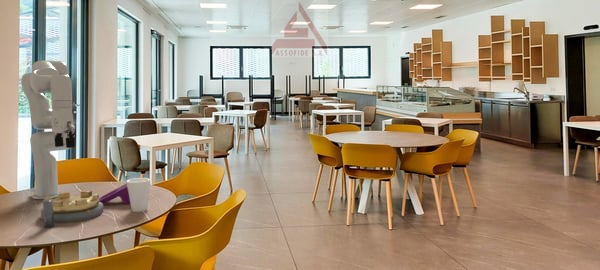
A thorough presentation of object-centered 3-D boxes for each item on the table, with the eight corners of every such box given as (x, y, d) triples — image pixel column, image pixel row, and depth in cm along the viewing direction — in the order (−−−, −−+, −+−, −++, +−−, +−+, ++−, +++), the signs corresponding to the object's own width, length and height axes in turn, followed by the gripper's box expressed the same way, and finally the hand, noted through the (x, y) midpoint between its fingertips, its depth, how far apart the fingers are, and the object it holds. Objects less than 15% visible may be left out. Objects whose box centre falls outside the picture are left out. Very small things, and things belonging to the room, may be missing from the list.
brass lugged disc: (77, 214, 173) (76, 203, 172) (33, 212, 177) (32, 201, 176) (109, 201, 192) (108, 191, 192) (68, 199, 196) (67, 189, 196)
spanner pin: (42, 227, 167) (40, 201, 166) (49, 225, 170) (47, 199, 169) (49, 228, 166) (47, 202, 165) (56, 225, 169) (54, 200, 168)
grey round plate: (27, 220, 177) (26, 212, 177) (71, 205, 199) (71, 198, 199) (74, 224, 171) (74, 217, 170) (115, 209, 193) (114, 202, 192)
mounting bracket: (105, 219, 199) (142, 199, 203) (95, 203, 197) (133, 183, 201) (107, 213, 208) (143, 194, 212) (97, 198, 206) (134, 179, 210)
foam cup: (131, 207, 196) (130, 178, 195) (153, 206, 197) (152, 177, 196) (125, 213, 187) (123, 182, 186) (147, 212, 188) (146, 182, 186)
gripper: (42, 105, 184) (45, 147, 185) (62, 105, 173) (65, 148, 174) (61, 105, 189) (64, 145, 191) (81, 104, 179) (84, 147, 180)
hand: (64, 147), depth 183 cm, fingers open, 9 cm apart
